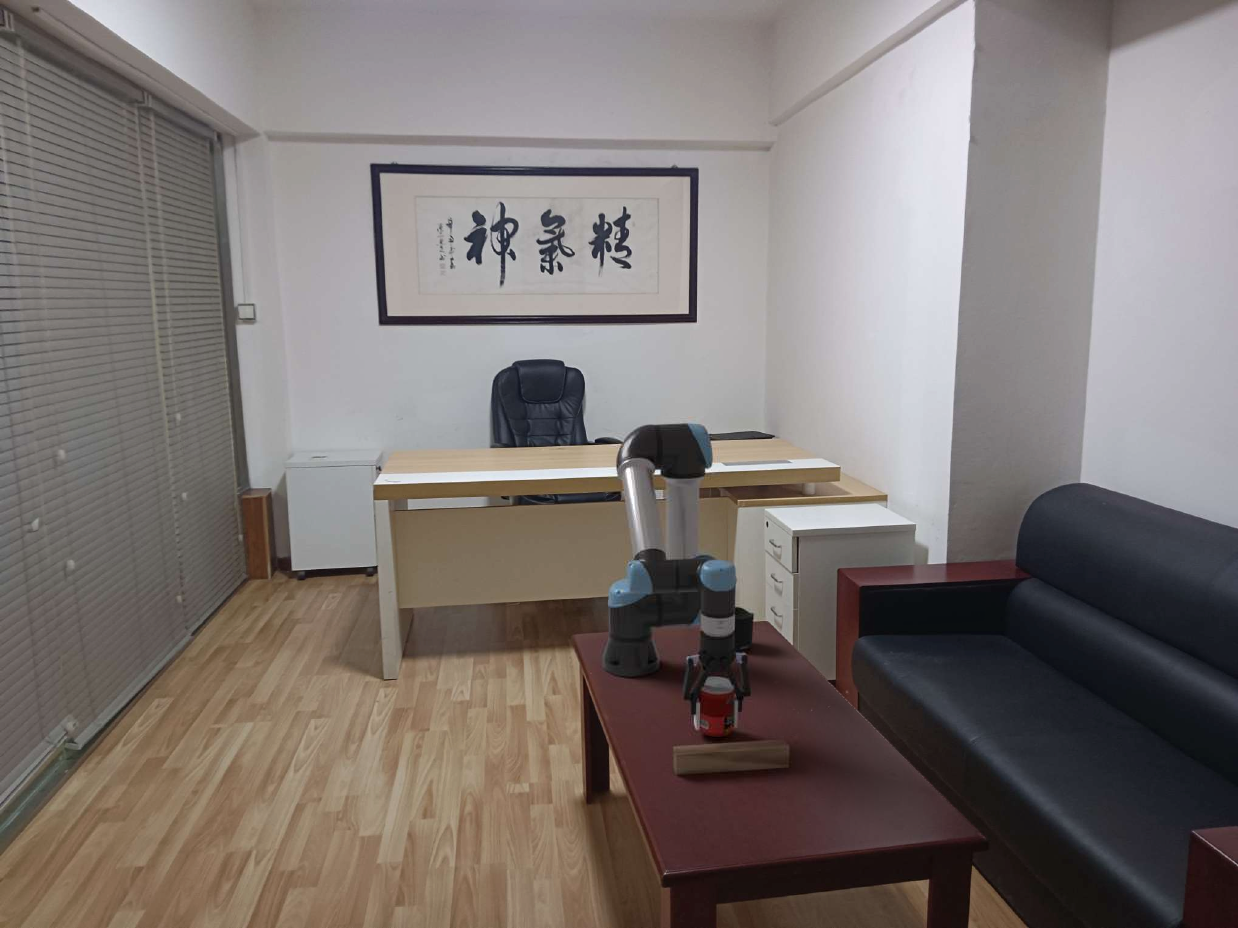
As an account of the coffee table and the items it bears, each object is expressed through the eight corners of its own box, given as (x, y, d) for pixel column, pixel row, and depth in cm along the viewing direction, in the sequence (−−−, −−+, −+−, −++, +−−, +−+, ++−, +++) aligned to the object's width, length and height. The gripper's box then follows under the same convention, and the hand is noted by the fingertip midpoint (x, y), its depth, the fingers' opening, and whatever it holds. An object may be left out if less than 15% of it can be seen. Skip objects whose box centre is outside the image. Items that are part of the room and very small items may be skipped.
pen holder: (718, 651, 247) (718, 617, 245) (720, 639, 256) (720, 606, 254) (752, 654, 246) (753, 619, 244) (753, 641, 255) (754, 607, 253)
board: (673, 766, 188) (673, 746, 187) (783, 758, 191) (784, 739, 190) (676, 774, 185) (676, 754, 184) (788, 766, 187) (789, 747, 186)
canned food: (731, 738, 197) (733, 692, 195) (695, 735, 199) (696, 689, 196) (734, 722, 204) (735, 677, 202) (699, 719, 206) (700, 674, 204)
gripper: (674, 639, 192) (673, 736, 196) (768, 635, 194) (765, 731, 199) (668, 626, 199) (667, 720, 204) (758, 622, 201) (756, 715, 206)
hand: (715, 725), depth 201 cm, fingers closed on canned food, 8 cm apart
